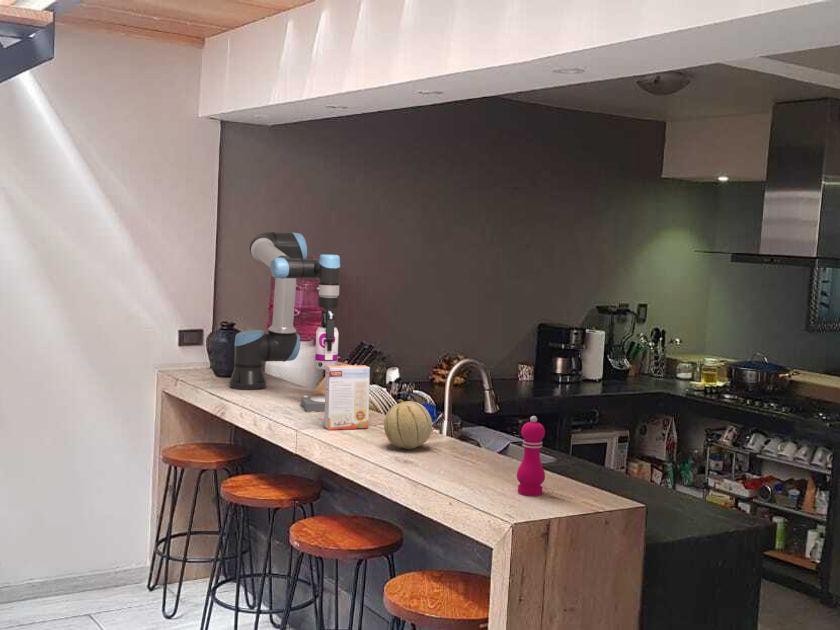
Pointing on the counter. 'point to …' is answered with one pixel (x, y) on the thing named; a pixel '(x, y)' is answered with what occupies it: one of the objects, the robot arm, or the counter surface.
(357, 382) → the cracker box
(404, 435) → the cantaloupe
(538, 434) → the pepper mill
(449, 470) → the counter surface
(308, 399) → the grey flat block
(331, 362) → the supplement can
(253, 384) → the robot arm
